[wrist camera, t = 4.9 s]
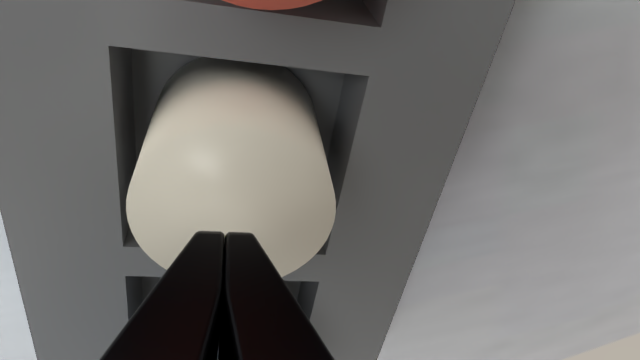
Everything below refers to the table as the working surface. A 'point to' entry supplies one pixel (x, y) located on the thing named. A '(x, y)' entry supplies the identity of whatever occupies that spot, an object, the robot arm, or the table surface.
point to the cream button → (233, 164)
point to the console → (135, 116)
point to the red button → (272, 4)
